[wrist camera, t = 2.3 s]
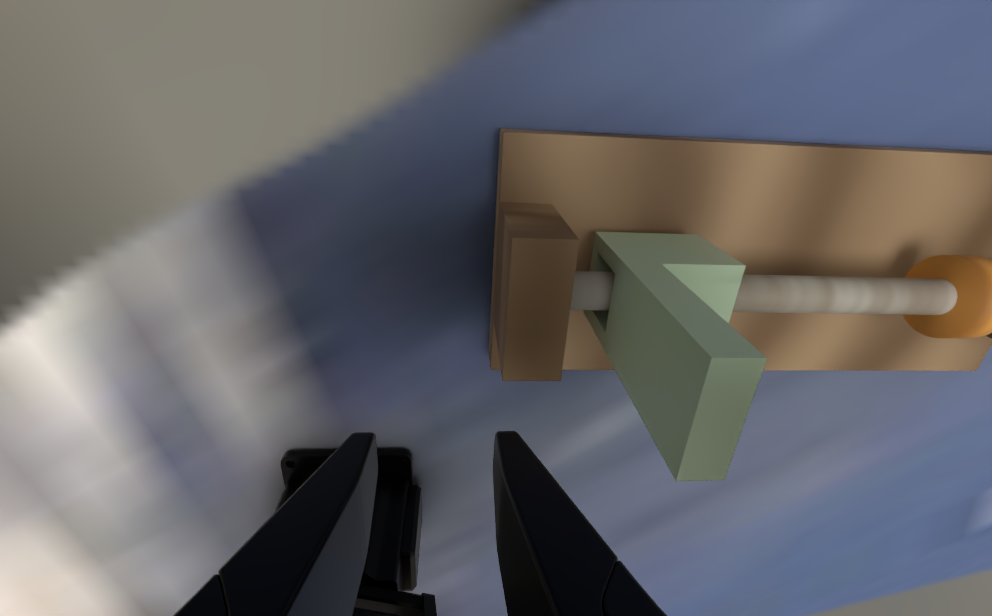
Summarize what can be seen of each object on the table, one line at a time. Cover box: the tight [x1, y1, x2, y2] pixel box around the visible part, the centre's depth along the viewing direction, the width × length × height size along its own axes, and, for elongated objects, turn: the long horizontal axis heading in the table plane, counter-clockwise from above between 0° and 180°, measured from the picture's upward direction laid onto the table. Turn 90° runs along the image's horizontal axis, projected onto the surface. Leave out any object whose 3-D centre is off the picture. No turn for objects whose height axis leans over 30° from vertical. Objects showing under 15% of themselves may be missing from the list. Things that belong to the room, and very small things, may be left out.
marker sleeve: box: [584, 232, 767, 481], centre depth 15 cm, size 4×3×9 cm
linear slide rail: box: [489, 128, 992, 381], centre depth 19 cm, size 24×10×6 cm, turn 87°
